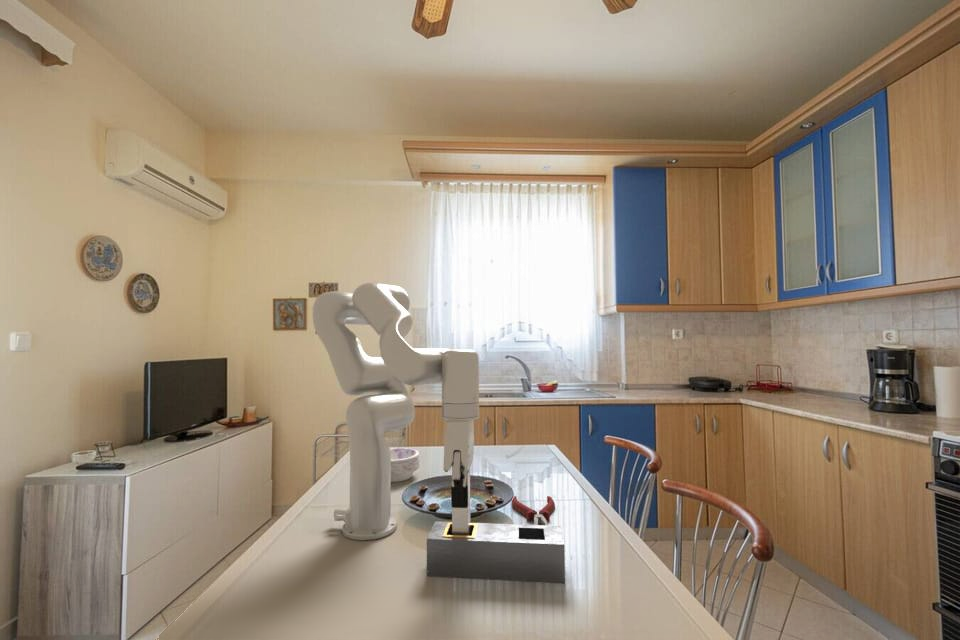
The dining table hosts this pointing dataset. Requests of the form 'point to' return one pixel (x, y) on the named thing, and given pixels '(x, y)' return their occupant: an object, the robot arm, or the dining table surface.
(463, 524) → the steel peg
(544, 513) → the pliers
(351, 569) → the dining table surface
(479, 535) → the grey peg board
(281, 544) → the dining table surface
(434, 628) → the dining table surface
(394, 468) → the white textured bowl
